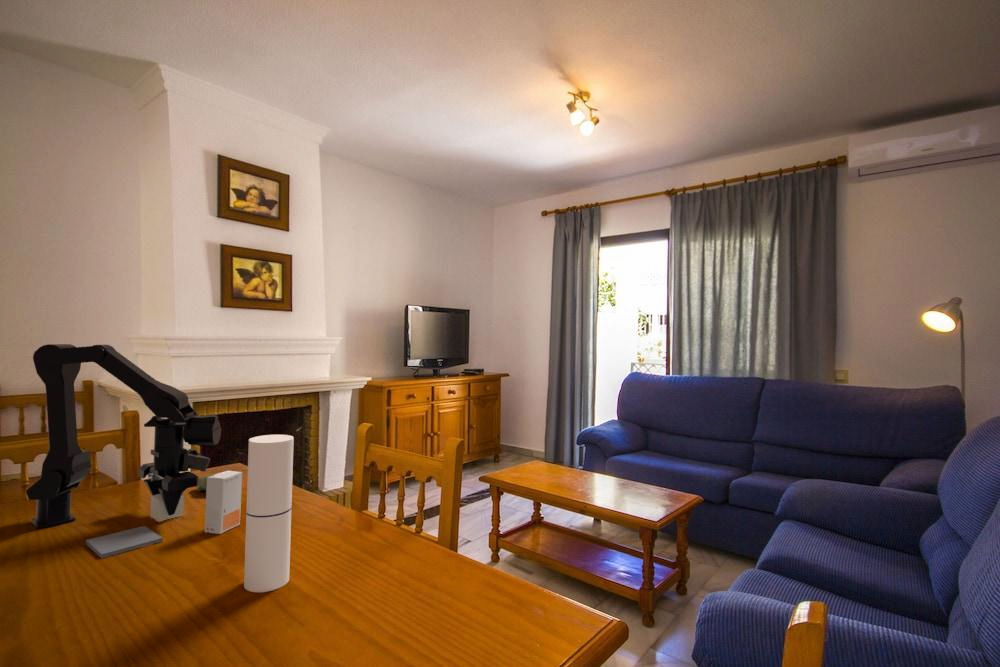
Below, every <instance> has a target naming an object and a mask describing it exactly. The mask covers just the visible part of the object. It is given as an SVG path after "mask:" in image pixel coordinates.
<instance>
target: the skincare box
mask: <svg viewBox="0 0 1000 667" xmlns="http://www.w3.org/2000/svg"><path fill="white" fill-rule="evenodd" d="M214 474H215V475H213V476H210V477H207V488H206V490H205V515H204V533H207V532H209V534H216V535H221V534H223V533H225V532H227V531H229V530H231V529H233V528H235V527H238V526H239V525H240V524H241V509H242V508H241V506H242V486H243V484H242V483H243V472H242V471H236V470H235V471H234V470H233V471H232V470H226V471H223V472H218V474H216V473H214Z"/></svg>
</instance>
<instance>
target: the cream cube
mask: <svg viewBox="0 0 1000 667" xmlns="http://www.w3.org/2000/svg"><path fill="white" fill-rule="evenodd" d="M184 496H185V495H184V494H183V493H182V495H181V497H180V500H179V503H178V505H177V508H176V511H175V513H174V515H168V513H167V510H166V508H165V505H164V502H163V500H162V497H161V494H157V495H152V494H151V495H150V506H149V507H150V508H149V509H150V510H149V511H150V512H149V514H150V515H149V516H151V517H153V518H154V519H156V520H157V521H162V520H166V519H170V518H174V517H178V516H182V515H183V516H184V500H185V497H184ZM183 516H182V517H183ZM151 517H150V518H151ZM178 518H179V517H178ZM154 519H153V520H154ZM174 519H175V518H174ZM156 520H155V521H156ZM170 520H171V519H170ZM157 521H156V522H157ZM166 521H167V520H166ZM162 522H163V521H162Z"/></svg>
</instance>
